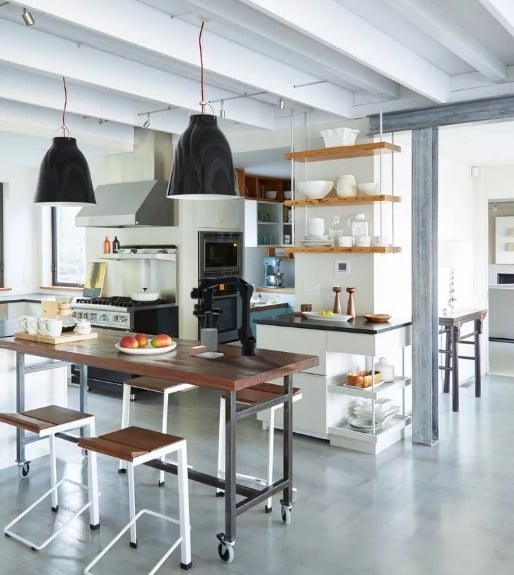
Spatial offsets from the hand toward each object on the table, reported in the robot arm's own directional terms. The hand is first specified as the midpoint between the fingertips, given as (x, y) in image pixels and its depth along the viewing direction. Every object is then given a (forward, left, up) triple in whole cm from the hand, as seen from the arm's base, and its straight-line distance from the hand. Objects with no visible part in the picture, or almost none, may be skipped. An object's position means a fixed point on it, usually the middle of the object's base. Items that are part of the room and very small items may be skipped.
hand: (208, 326), depth 369 cm
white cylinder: (+1, -2, -14) cm, 14 cm away
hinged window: (-11, +13, -14) cm, 22 cm away
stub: (-3, +13, -14) cm, 19 cm away
